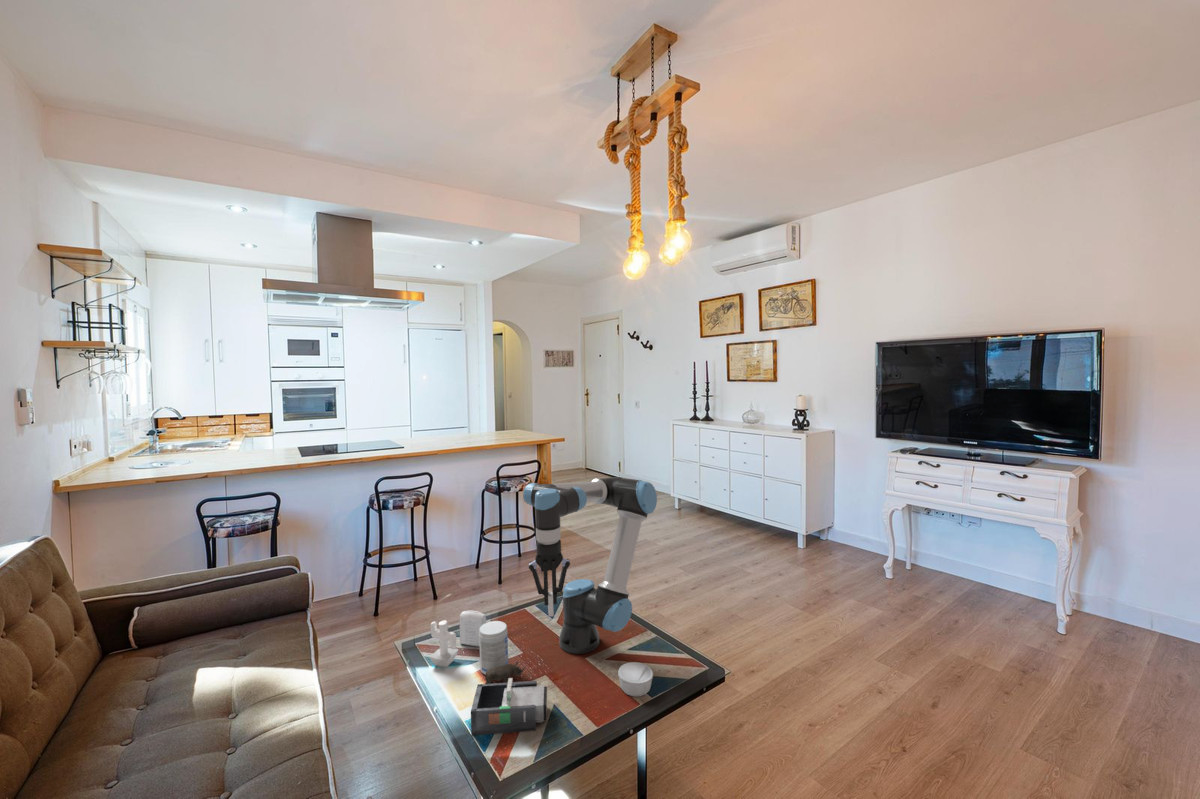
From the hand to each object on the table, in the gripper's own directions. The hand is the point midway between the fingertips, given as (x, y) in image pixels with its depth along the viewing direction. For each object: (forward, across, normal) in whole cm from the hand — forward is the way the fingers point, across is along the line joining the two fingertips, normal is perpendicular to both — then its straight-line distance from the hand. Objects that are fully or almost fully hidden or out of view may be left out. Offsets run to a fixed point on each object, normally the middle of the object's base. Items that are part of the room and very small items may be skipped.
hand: (551, 614), depth 152 cm
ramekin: (+28, -26, 0) cm, 38 cm away
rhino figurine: (+27, +16, -10) cm, 33 cm away
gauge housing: (+27, +14, +7) cm, 31 cm away
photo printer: (+28, +28, -36) cm, 53 cm away
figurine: (+27, +37, -24) cm, 52 cm away
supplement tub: (+27, +20, -18) cm, 38 cm away
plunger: (+26, +9, +7) cm, 28 cm away
